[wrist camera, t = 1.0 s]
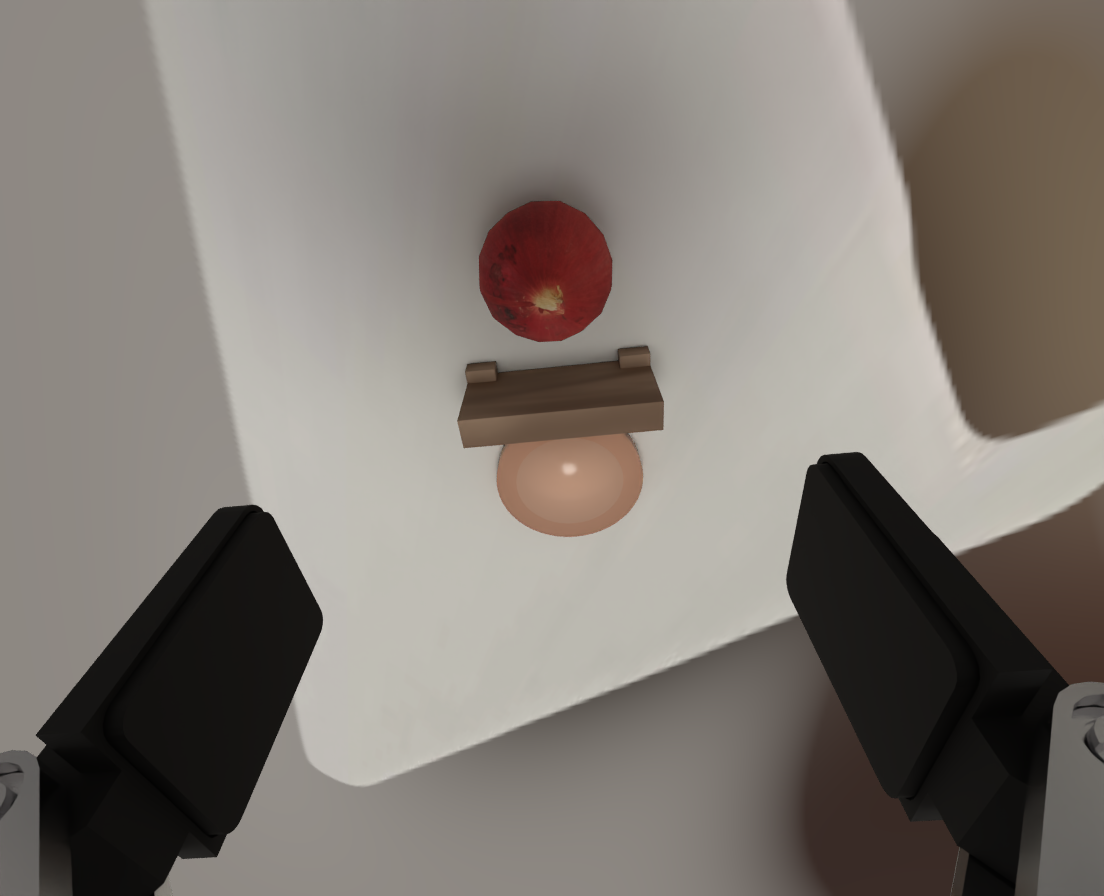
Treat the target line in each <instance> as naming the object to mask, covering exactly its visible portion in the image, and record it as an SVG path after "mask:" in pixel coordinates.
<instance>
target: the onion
mask: <svg viewBox="0 0 1104 896" xmlns="http://www.w3.org/2000/svg"><path fill="white" fill-rule="evenodd" d="M479 286H480V291H481V294H482V296H483V298H484V300H485V302H486V304H487V306H488V308H489V310H490V312H491V314H492V316H493V317H494V318H495V319H496V320H497V321H498V322H500V323H501V324H502V325H504V326H505V327H506V328H508V329H509V330H510V331H512V332H513V333H514V334H516V335H518V336H521V337H524V338H528V339H531V340H534V341H537V342H548V341H562V340H564V339H566V338H568V337H570V336H573V335H575V334H577V333H579V332H581V331H582V330H584V329H585V328H586V327H587V326H588V325H589V324H590V323H591V322H592V321H593V320H594V319H595V318H596V317H598V316H599V315H600V314H601V313H602V310H603V308H604V306H605V303H606V301H607V298H608V296H609V293H610V291H611V287H612V258H611V255H610V252H609V249H608V246H607V243H606V241H605V238H604V235H603V234H602V233H601V231H600V230H599V229H598V228H597V227H596V226H595V224H594V223H593V222H592V221H591V220H590V219H589V217H588V216H587V215H586V214H585V213H583V212H581V211H579V210H577V209H575V208H573V207H571V206H569V205H567V204H565V203H563V202H561V201H532V202H529V203H527V204H525V205H523V206H521V207H519V208H517V209H515V210H512V211H510V212H508V213H507V214H506V215H505V216H504V217H503V218H502V219H501V220H500V221H499V222H498V223H497V224H496V225H495V226H494V227H493V228H492V229H491V230H490V231H489V232H488V235H487V238H486V240H485V243H484V245H483V248H482V250H481V253H480V256H479Z"/></svg>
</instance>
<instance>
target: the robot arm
mask: <svg viewBox="0 0 1104 896" xmlns="http://www.w3.org/2000/svg"><path fill="white" fill-rule="evenodd" d="M786 582H787V589H788V593H789V595H790V598H791V600H792V602H793V604H794V606H795V608H796V610H797V612H798V614H799V617H800V619H801V621H802V623H803V625H804V627H805V629H806V631H807V633H808V635H809V637H810V639H811V641H812V643H813V645H814V648H815V650H816V652H817V654H818V656H819V658H820V660H821V662H822V664H823V666H824V668H825V670H826V672H827V674H828V676H829V679H830V681H831V683H832V685H833V687H834V689H835V691H836V693H837V695H838V697H839V699H840V701H841V703H842V706H843V708H844V709H845V712H846V714H847V716H848V718H849V720H850V722H851V724H852V726H853V728H854V730H855V732H856V735H857V737H858V738H859V741H860V743H861V745H862V747H863V749H864V751H865V753H866V755H867V757H868V759H869V761H870V764H871V765H872V767H873V770H874V772H875V774H876V776H877V778H878V780H879V782H880V784H881V786H882V787H883V789H884V791H885V792H886V793H887V794H888V795H889V796H890V797H891V798H899V800H900V802H901V804H902V806H903V808H904V810H905V812H906V814H907V816H908V818H909V820H910V821H930V820H944V822H945V824H946V826H947V828H948V830H949V831H950V833H951V835H952V837H953V839H954V841H955V842H956V844H957V846H959V847H960V848H959V853H958V859H957V864H956V869H955V875H954V881H953V886H952V891H951V896H1104V683H1097V682H1085V683H1078V684H1072V685H1070V686H1069V685H1068V684H1067V683H1066V681H1065V680H1064V679H1063V678H1062V677H1061V676H1060V674H1059V673H1058V672H1057V671H1056V670H1055V669H1054V668H1053V667H1052V666H1051V664H1050V663H1049V662H1048V661H1047V660H1046V659H1045V658H1044V656H1043V655H1042V654H1041V653H1040V652H1039V651H1038V650H1037V649H1036V648H1035V646H1034V645H1033V644H1032V643H1031V642H1030V641H1029V639H1028V638H1027V637H1026V636H1025V635H1024V634H1023V633H1022V632H1021V630H1020V629H1019V628H1018V627H1017V626H1016V625H1015V624H1014V623H1013V622H1012V620H1011V619H1010V618H1009V617H1008V616H1007V615H1006V613H1005V612H1004V611H1003V610H1002V609H1001V608H1000V607H999V606H998V605H997V603H996V602H995V601H994V600H993V599H992V598H991V597H990V595H989V594H988V593H987V592H986V591H985V590H984V589H983V588H982V586H981V585H980V584H979V583H978V582H977V581H976V580H975V578H974V577H973V576H972V575H971V574H970V573H969V572H968V571H967V569H966V568H965V567H964V566H963V565H962V564H961V563H960V562H959V560H958V559H957V558H956V557H955V556H954V555H953V554H952V552H951V551H950V550H949V549H948V548H947V547H946V546H945V545H944V543H943V542H942V541H941V540H940V539H939V538H938V537H937V536H936V535H935V534H934V533H933V532H932V531H931V530H930V529H929V528H928V527H927V526H926V525H925V523H924V522H923V521H922V520H921V519H920V518H919V517H918V515H917V514H916V513H915V512H914V511H913V510H912V509H911V508H910V506H909V505H908V504H907V503H906V502H905V501H904V500H903V498H902V497H901V496H900V495H899V494H898V493H897V492H896V491H895V489H894V488H893V487H892V486H891V485H890V484H889V483H888V481H887V480H886V479H885V478H884V477H883V476H882V475H881V474H880V472H879V471H878V470H877V469H876V468H875V467H874V466H873V464H872V463H871V462H870V461H869V460H868V459H867V458H866V457H865V456H864V455H863V454H862V453H859V452H852V453H840V454H829V455H823V456H821V457H820V458H819V460H818V462H817V464H813V465H810V466H809V468H808V470H807V474H806V479H805V484H804V489H803V494H802V499H801V504H800V509H799V514H798V519H797V525H796V530H795V535H794V540H793V545H792V550H791V555H790V560H789V565H788V570H787V577H786ZM322 625H323V616H322V612H321V609H320V607H319V605H318V603H317V602H316V600H315V598H314V596H313V594H312V592H311V590H310V588H309V586H308V584H307V582H306V580H305V578H304V576H303V574H302V572H301V570H300V569H299V567H298V565H297V563H296V561H295V559H294V557H293V555H292V553H291V551H290V549H289V547H288V545H287V543H286V541H285V539H284V537H283V536H282V534H281V532H280V530H279V528H278V526H277V524H276V522H275V520H274V518H273V517H272V515H271V514H270V513H268V512H264V511H263V510H262V508H260V507H259V506H257V505H246V506H233V507H224V508H220V509H218V510H217V511H216V512H215V513H214V514H213V515H212V516H211V518H210V519H209V520H208V521H207V523H206V524H205V525H204V526H203V528H202V529H201V530H200V531H199V533H198V534H197V535H196V536H195V538H194V539H193V540H192V541H191V543H190V544H189V545H188V546H187V548H186V549H185V550H184V551H183V553H182V554H181V555H180V556H179V558H178V559H177V560H176V561H175V563H174V564H173V565H172V566H171V567H170V569H169V570H168V571H167V573H166V574H165V575H164V576H163V577H162V579H161V580H160V581H159V582H158V584H157V585H156V586H155V587H154V589H153V590H152V591H151V592H150V594H149V595H148V596H147V597H146V598H145V600H144V601H143V602H142V604H141V605H140V606H139V608H138V609H137V610H136V611H135V612H134V613H133V615H132V616H131V617H130V618H129V620H128V621H127V622H126V623H125V625H124V626H123V627H122V628H121V630H120V631H119V632H118V633H117V635H116V636H115V637H114V638H113V640H112V641H111V642H110V643H109V645H108V646H107V647H106V648H105V649H104V651H103V652H102V654H101V655H100V656H99V657H98V658H97V659H96V661H95V662H94V663H93V664H92V666H91V667H90V668H89V669H88V671H87V672H86V673H85V674H84V676H83V677H82V678H81V679H80V681H79V682H78V683H77V684H76V686H75V687H74V688H73V689H72V690H71V692H70V693H69V694H68V695H67V697H66V698H65V699H64V701H63V702H62V703H61V704H60V705H59V707H58V708H57V709H56V710H55V712H54V713H53V714H52V715H51V717H50V718H49V719H48V720H47V722H46V723H45V724H44V725H43V727H42V728H41V729H40V730H39V732H38V733H37V734H36V736H37V737H38V738H39V739H40V740H42V741H43V742H44V743H45V744H46V746H45V748H44V749H43V750H42V751H41V753H40V754H39V755H38V757H35V756H34V755H32V754H31V753H29V752H28V751H16V750H11V751H7V752H3V753H0V896H173V895H172V889H171V884H170V878H169V872H170V870H171V868H172V866H173V864H174V862H175V860H176V858H177V856H179V857H181V858H182V859H187V858H188V859H189V858H207V857H217V856H218V853H219V851H220V849H221V846H222V844H223V842H224V840H225V837H226V835H227V834H228V833H230V832H232V831H233V830H234V829H235V828H236V827H237V825H238V824H239V822H240V820H241V818H242V816H243V813H244V811H245V809H246V807H247V804H248V802H249V800H250V797H251V795H252V792H253V790H254V788H255V785H256V783H257V781H258V778H259V776H260V774H261V771H262V769H263V766H264V764H265V762H266V760H267V757H268V755H269V752H270V750H271V748H272V745H273V743H274V741H275V738H276V736H277V734H278V731H279V729H280V727H281V724H282V722H283V720H284V717H285V715H286V713H287V710H288V708H289V706H290V703H291V701H292V699H293V696H294V694H295V692H296V689H297V687H298V684H299V682H300V680H301V677H302V675H303V673H304V670H305V668H306V666H307V663H308V661H309V659H310V656H311V654H312V652H313V649H314V647H315V645H316V642H317V640H318V638H319V635H320V633H321V630H322Z"/></svg>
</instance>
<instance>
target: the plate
mask: <svg viewBox="0 0 1104 896" xmlns="http://www.w3.org/2000/svg"><path fill="white" fill-rule="evenodd" d="M642 483H643V472H642V466H641V462H640V458H639V454H638V450H637V448H636V446H635V444H634V442H633V440H632V439H631V437H630V436H629V435H628V434H627V433H623V434H612V435H601V436H590V437H579V438H568V439H558V440H547V441H536V442H525V443H514V444H505V445H504V447H503V449H502V452H501V454H500V459H499V464H498V471H497V487H498V492H499V495H500V498H501V500H502V502H503V504H504V505H505V507H506V509H507V510H508V511H509V512H510V513H511V514H512V516H514V517H515V518H516V519H517V520H518V521H519V522H521V523H522V524H524V525H525V526H527V527H529V528H531V529H533V530H536V531H538V532H541V533H545V534H548V535H554V536H563V537H573V536H583V535H588V534H592V533H595V532H598V531H601V530H603V529H606V528H608V527H610V526H611V525H613V524H615V523H616V522H618V521H619V520H620V519H622V518H623V517H624V516H625V515H626V514H627V513H628V512H629V511H630V510H631V508H632V507H633V506H634V504H635V503H636V501H637V499H638V497H639V494H640V492H641V488H642Z"/></svg>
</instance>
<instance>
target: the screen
mask: <svg viewBox="0 0 1104 896" xmlns="http://www.w3.org/2000/svg"><path fill="white" fill-rule="evenodd" d="M618 358H619V361H612V362H602V363H592V364H582V365H571V366H561V367H551V368H541V369H531V370H521V371H511V372H501V373H498V371H497V365H496V361H495V362H485V363H475V364H467V367H466V371H465V374H466V378H467V383H468V384H467V388H466V391H465V395H464V399H463V402H462V406H461V409H460V413H459V417H458V420H457V422H458V426H459V430H460V434H461V439H462V443H463V447H464V448H471V447H482V446H492V445H503V444H514V443H525V442H536V441H547V440H558V439H568V438H579V437H590V436H601V435H612V434H623V433H634V432H645V431H655V430H663V419H664V401H663V398H662V395H661V393H660V390H659V387H658V385H657V382H656V379H655V377H654V374H653V371H652V369H651V366H650V352H649V349H648V347H647V346H644V347H634V348H625V349H618Z"/></svg>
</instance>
